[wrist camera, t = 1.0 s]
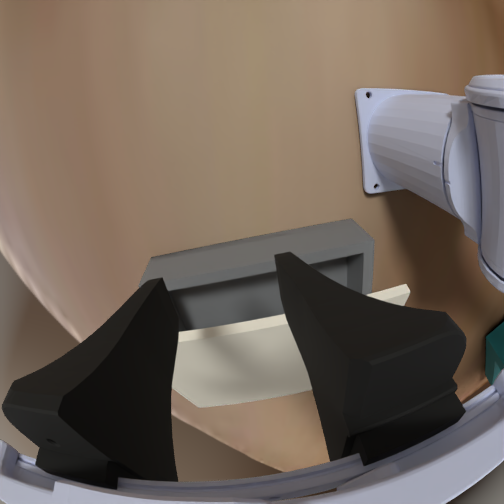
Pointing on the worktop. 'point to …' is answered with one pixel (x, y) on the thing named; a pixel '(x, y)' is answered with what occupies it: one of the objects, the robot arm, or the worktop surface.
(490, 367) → the teal stepped block
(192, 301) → the storage box
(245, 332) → the lid
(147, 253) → the worktop surface
